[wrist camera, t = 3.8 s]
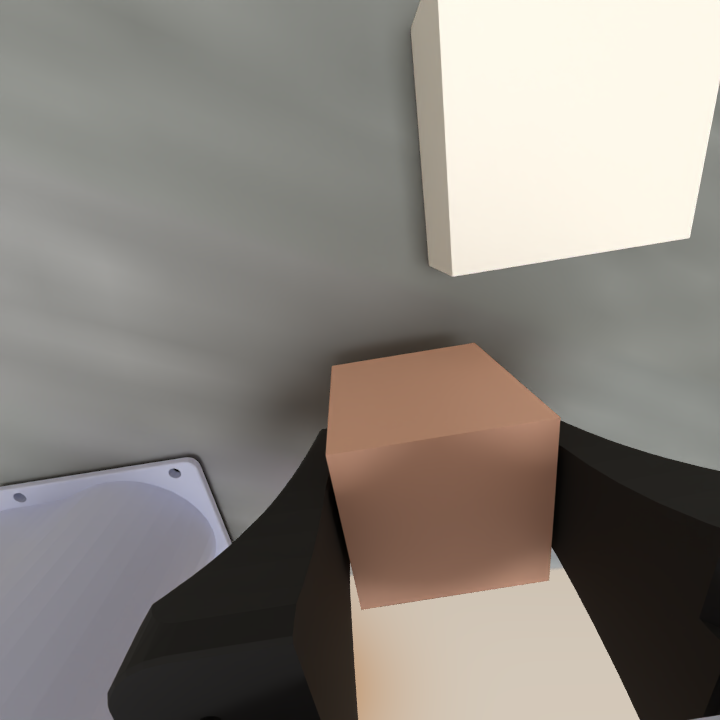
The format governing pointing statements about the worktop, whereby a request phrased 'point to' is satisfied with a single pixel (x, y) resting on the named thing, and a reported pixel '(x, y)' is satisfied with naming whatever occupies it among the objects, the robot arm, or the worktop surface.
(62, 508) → the robot arm
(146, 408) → the worktop surface
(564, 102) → the cream plinth
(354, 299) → the worktop surface
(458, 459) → the terracotta cube
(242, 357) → the worktop surface
